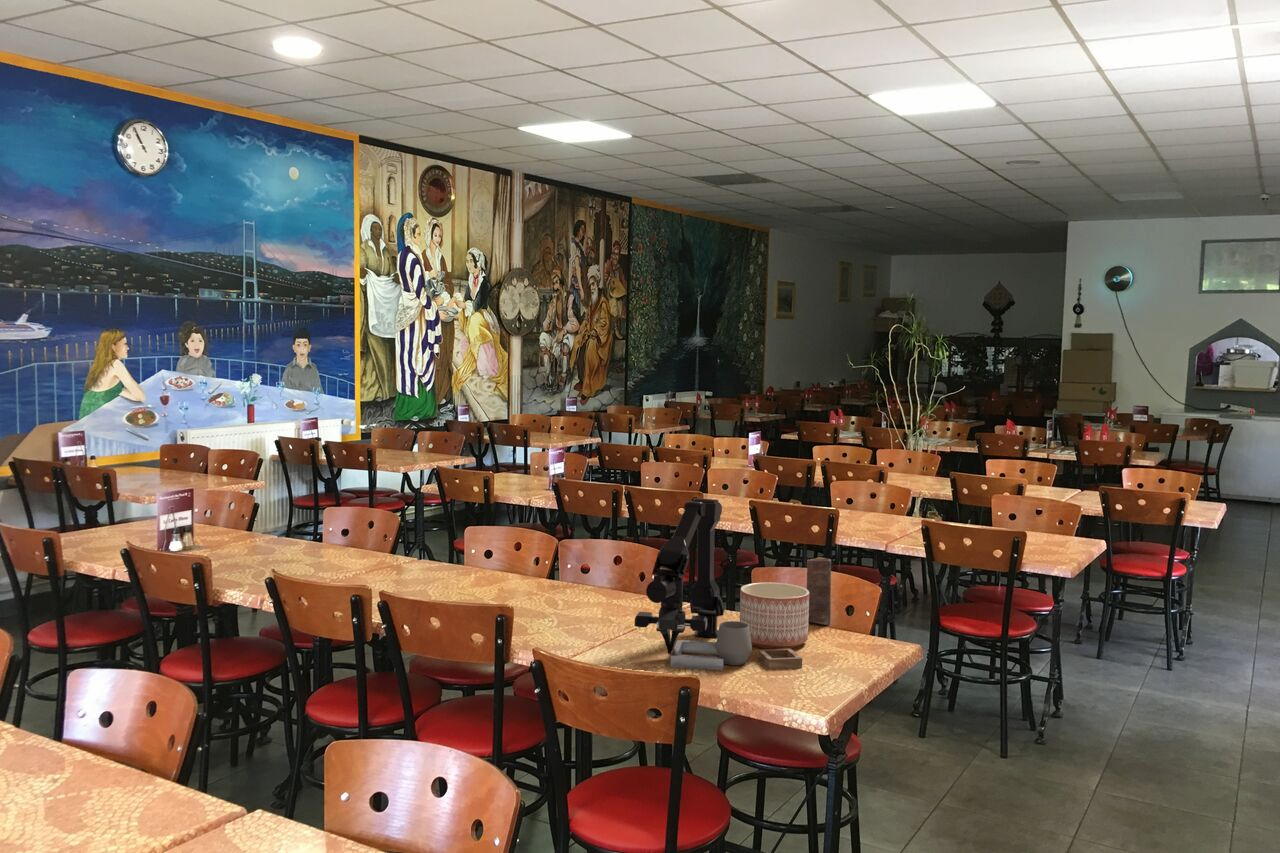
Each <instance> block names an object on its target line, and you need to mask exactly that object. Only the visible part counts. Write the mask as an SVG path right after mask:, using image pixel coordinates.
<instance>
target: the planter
mask: <svg viewBox="0 0 1280 853" xmlns="http://www.w3.org/2000/svg"><path fill="white" fill-rule="evenodd" d="M739 593H740V594H739V597H740V598H739V599H740V600H739V622H743V623H746V624H748V625H749V630H750V637H751V644H752V647H757V648H761V649H789V648H790V649H794V648H798V647H799V646H801V645H802V644H804V643H806V642H807V641H808V639H809V621H808V618H809V591H808V590H807V588H806V587H803V586H800V585H797V584H796V585H795V584H792V583H783V582H754V583H748V584H744V585H742V586H741V587H740V591H739Z"/></svg>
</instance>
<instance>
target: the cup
mask: <svg viewBox="0 0 1280 853" xmlns="http://www.w3.org/2000/svg"><path fill="white" fill-rule="evenodd" d="M718 630H719V631H718V636H717V638H716V641H715V642H716V651H717V653H718V655H717V656H718V657H723V658H724V664H725V665H728V666H741V665H743V664H745V663H747V661H748V658H749V656H750V655H751V653H752V651H753V645H752V644H751V637H750V630H749V625H748V624H746V623H743V622H740V621H738V620H737V621H735V620H729V621H728V620H727V621H723V622H720V623H719V627H718Z"/></svg>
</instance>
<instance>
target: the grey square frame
mask: <svg viewBox="0 0 1280 853" xmlns="http://www.w3.org/2000/svg"><path fill="white" fill-rule="evenodd" d="M684 653H685V654H684ZM690 654H691V655H690ZM692 654H701V655H692ZM704 655H714V656H704ZM724 664H725V663H724V658H723V657H719V655H718V653H717V651H716V641H703V640H702V641H701V640H687V639H686V640H684V639H676V642H675V644H674V647H673V650H672V653H671V654H670V668H675V669H676V668H677V669H678V668H679V669H690V670H708V671H718V670H720V671H722V672H724V667H725V665H724ZM720 671H719V672H720Z"/></svg>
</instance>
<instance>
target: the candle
mask: <svg viewBox="0 0 1280 853" xmlns="http://www.w3.org/2000/svg"><path fill="white" fill-rule="evenodd" d="M806 567H807V568H806V589H807V590H808V591H809V618H808V622H811V623H814V624H820V625H825V626H830V625H831V621H832V620H831V618H832V617H831V615H832V614H831V612H832V608H831V607H832V605H831V604H832V603H831V602H832V601H831V600H832V599H831V598H832V595H831V593H832V592H831V590H832V585H831V584H832V583H831V582H832V559H830V558H825V557H819V556H818V557H816V558H811V559H807V560H806Z"/></svg>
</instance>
